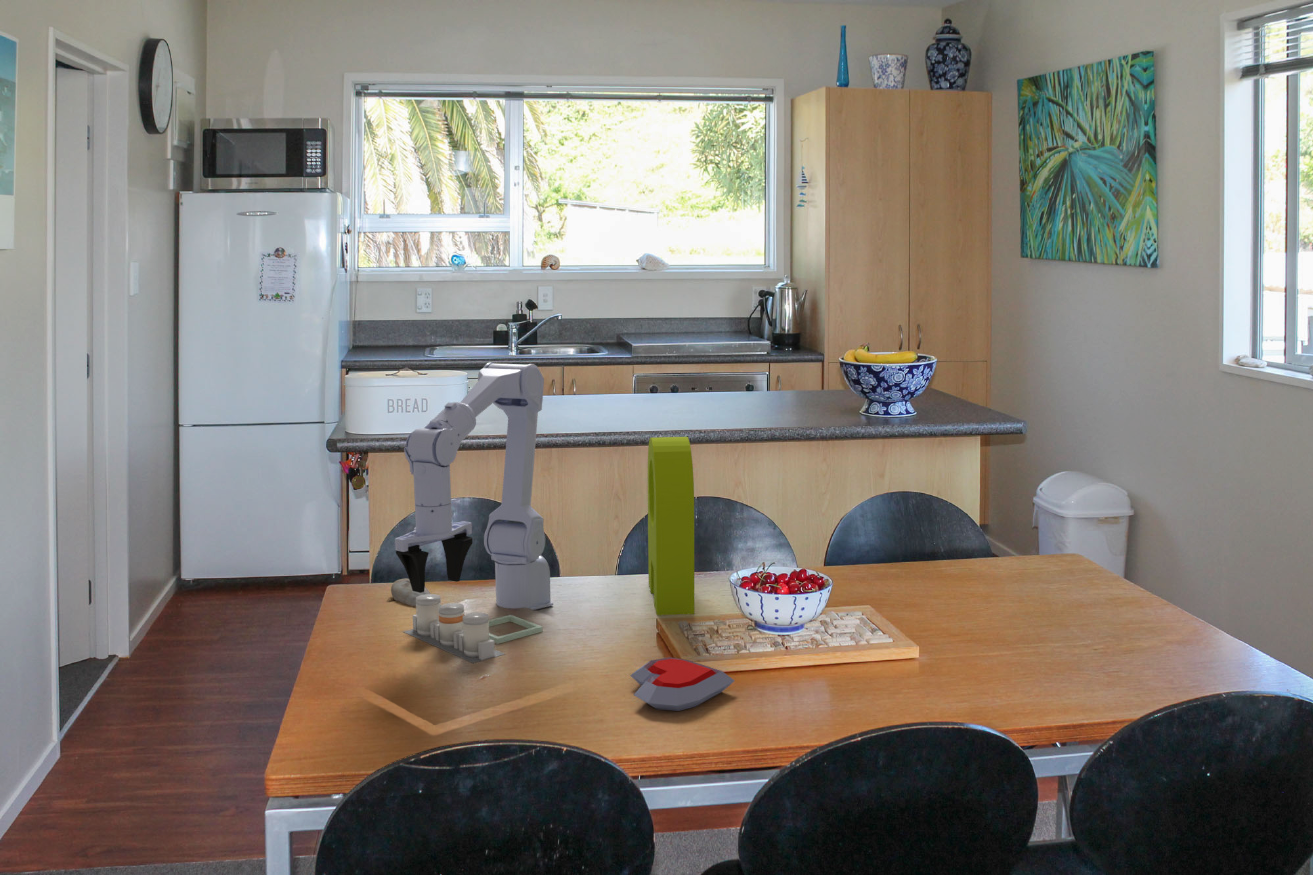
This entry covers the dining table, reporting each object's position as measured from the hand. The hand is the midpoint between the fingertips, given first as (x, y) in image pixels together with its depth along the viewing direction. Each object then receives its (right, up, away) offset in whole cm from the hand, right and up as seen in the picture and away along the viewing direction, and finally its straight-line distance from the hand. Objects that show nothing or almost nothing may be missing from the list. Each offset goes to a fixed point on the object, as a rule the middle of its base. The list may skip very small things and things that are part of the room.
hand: (436, 585), depth 189 cm
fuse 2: (+7, -10, -4) cm, 13 cm away
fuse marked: (+2, -9, +1) cm, 10 cm away
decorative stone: (-9, -7, +26) cm, 29 cm away
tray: (+10, -9, +7) cm, 15 cm away
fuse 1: (-2, -9, +6) cm, 11 cm away
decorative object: (+38, -6, +28) cm, 47 cm away
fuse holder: (+2, -10, +1) cm, 11 cm away
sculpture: (+39, -14, -19) cm, 46 cm away
